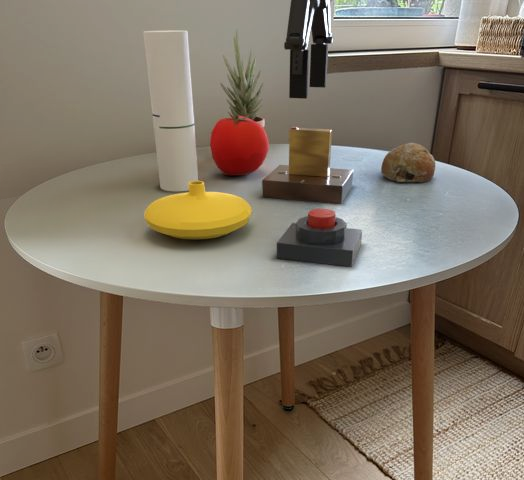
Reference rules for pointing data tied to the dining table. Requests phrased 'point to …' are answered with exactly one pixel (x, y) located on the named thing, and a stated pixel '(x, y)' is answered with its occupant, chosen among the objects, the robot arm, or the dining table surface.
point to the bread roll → (408, 164)
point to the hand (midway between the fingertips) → (308, 92)
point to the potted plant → (243, 87)
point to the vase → (198, 213)
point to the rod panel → (307, 185)
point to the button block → (320, 243)
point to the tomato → (238, 145)
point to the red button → (321, 218)
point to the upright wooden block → (309, 151)
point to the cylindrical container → (172, 107)
